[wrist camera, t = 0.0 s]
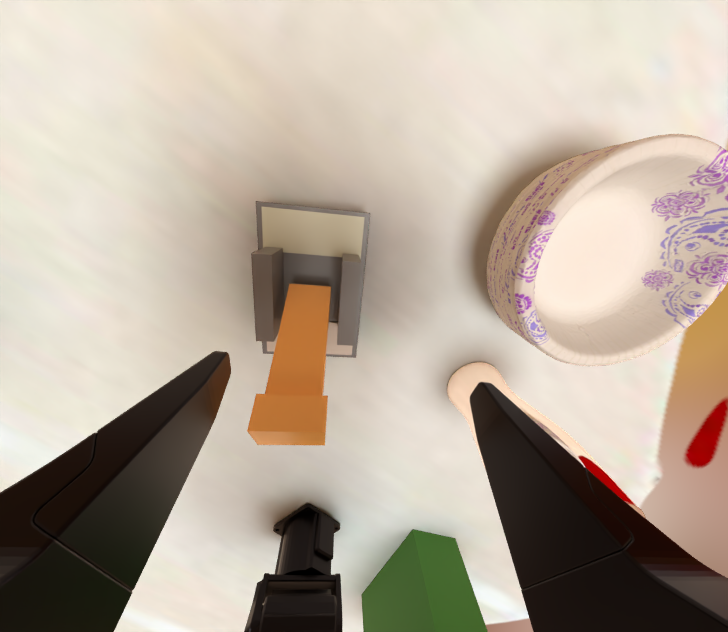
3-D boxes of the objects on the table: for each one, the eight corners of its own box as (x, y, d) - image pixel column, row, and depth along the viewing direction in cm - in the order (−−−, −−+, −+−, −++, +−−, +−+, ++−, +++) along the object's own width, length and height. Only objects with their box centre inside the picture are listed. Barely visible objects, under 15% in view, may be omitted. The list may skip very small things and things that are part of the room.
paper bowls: (439, 229, 23) (486, 238, 16) (607, 115, 21) (753, 63, 13) (504, 353, 28) (562, 403, 21) (643, 272, 26) (763, 296, 19)
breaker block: (354, 342, 26) (358, 380, 20) (271, 337, 25) (249, 377, 19) (366, 213, 22) (376, 213, 16) (267, 202, 21) (237, 198, 15)
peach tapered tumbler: (430, 386, 29) (511, 548, 15) (480, 345, 28) (623, 482, 14) (466, 419, 31) (566, 587, 17) (515, 383, 30) (667, 534, 16)
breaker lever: (334, 299, 22) (324, 445, 15) (289, 296, 21) (257, 444, 14) (335, 276, 19) (325, 432, 13) (285, 272, 19) (247, 431, 12)
